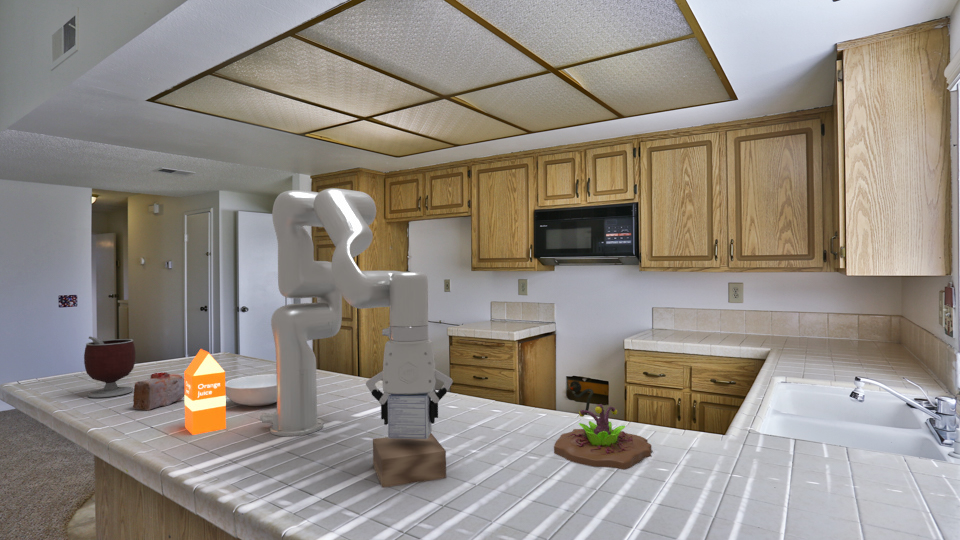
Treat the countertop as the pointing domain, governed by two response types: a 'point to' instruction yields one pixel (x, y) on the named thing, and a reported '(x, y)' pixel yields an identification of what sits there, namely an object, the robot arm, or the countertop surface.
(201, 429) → the orange juice
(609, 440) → the plant
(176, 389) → the food item
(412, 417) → the medicine box
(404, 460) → the walnut block
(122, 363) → the mate gourd
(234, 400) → the serving bowl
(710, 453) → the countertop surface
